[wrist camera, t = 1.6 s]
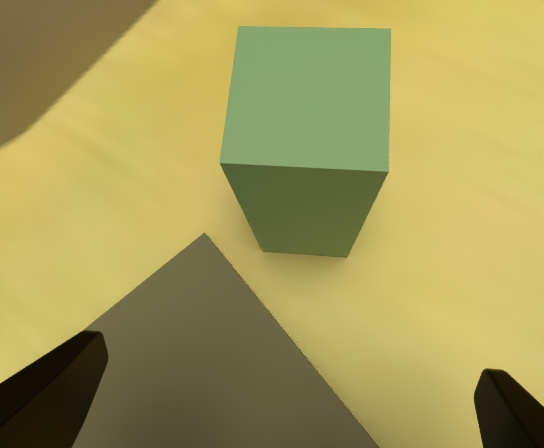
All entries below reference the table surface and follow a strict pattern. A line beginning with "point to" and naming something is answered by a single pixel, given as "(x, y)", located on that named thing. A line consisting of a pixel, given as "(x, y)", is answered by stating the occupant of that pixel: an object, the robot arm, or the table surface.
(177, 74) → the table surface
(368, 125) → the teal block
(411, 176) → the table surface
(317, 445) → the rubber mat
